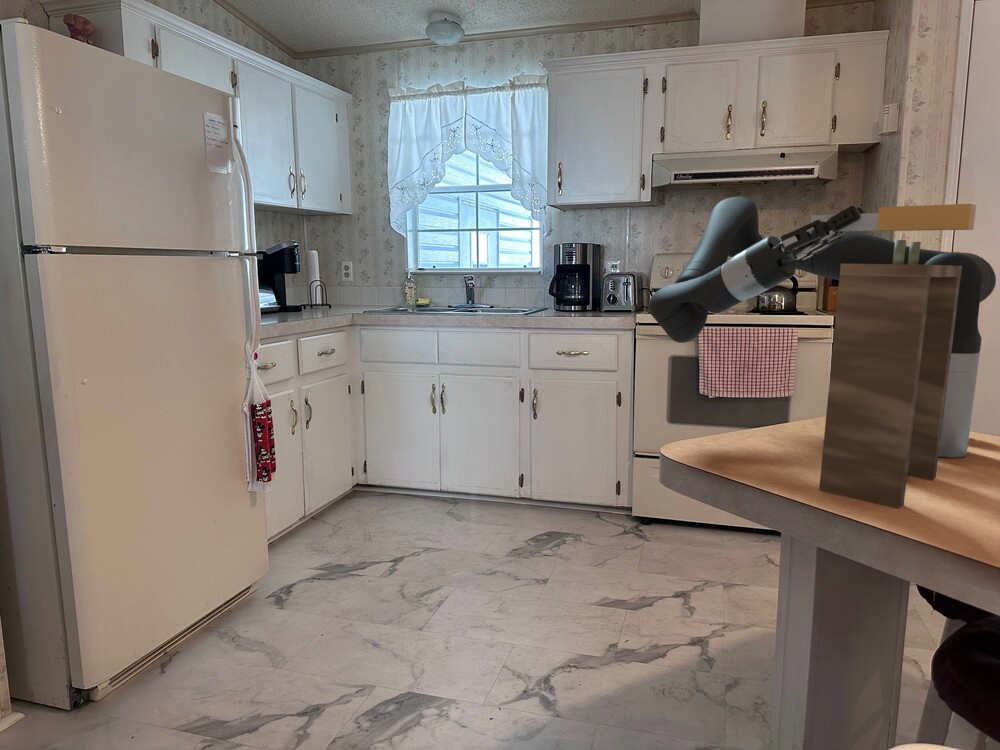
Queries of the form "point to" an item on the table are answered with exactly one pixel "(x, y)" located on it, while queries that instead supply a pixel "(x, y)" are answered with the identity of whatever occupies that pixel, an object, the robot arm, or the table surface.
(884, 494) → the shelf
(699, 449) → the table surface
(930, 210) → the two-tone rectangular bar
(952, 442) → the robot arm
